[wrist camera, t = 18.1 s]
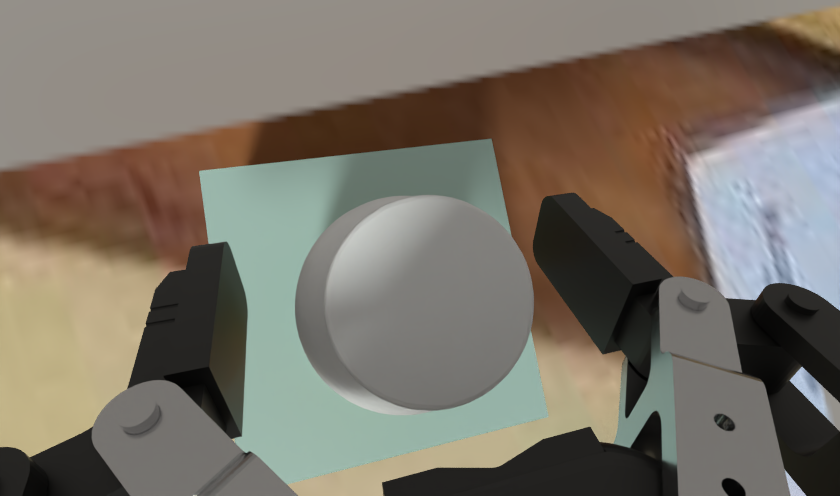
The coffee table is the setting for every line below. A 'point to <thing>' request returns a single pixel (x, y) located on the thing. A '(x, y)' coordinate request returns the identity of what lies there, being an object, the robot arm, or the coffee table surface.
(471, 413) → the lid
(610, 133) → the coffee table surface
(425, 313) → the supplement bottle
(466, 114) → the coffee table surface
